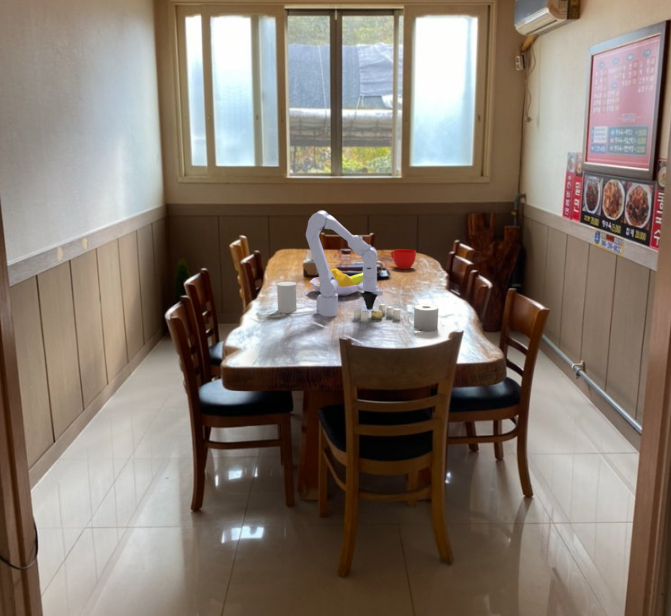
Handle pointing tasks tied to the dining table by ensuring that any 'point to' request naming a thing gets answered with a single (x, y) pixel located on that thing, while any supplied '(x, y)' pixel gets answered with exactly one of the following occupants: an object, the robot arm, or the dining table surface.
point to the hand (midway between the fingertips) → (369, 309)
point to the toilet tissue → (426, 317)
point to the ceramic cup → (403, 258)
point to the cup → (286, 297)
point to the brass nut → (376, 315)
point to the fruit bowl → (342, 282)
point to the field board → (375, 322)
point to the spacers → (382, 307)
